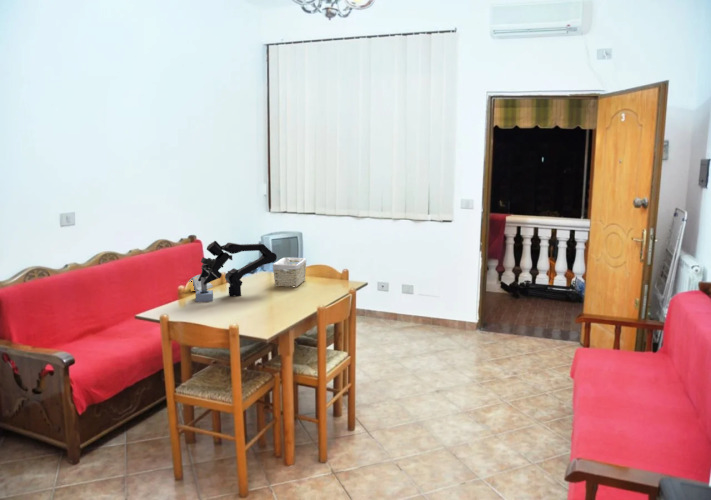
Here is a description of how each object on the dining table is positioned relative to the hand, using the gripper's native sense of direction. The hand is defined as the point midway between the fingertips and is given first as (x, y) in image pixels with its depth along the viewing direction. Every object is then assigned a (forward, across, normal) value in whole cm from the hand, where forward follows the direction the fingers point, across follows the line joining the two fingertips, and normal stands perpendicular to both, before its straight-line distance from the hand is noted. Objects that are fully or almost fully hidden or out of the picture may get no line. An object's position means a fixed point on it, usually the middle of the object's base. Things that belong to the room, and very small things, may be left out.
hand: (201, 282), depth 308 cm
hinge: (+2, -26, +13) cm, 29 cm away
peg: (+6, 0, +8) cm, 10 cm away
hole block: (+6, 0, +8) cm, 10 cm away
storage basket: (-36, -10, +50) cm, 62 cm away
